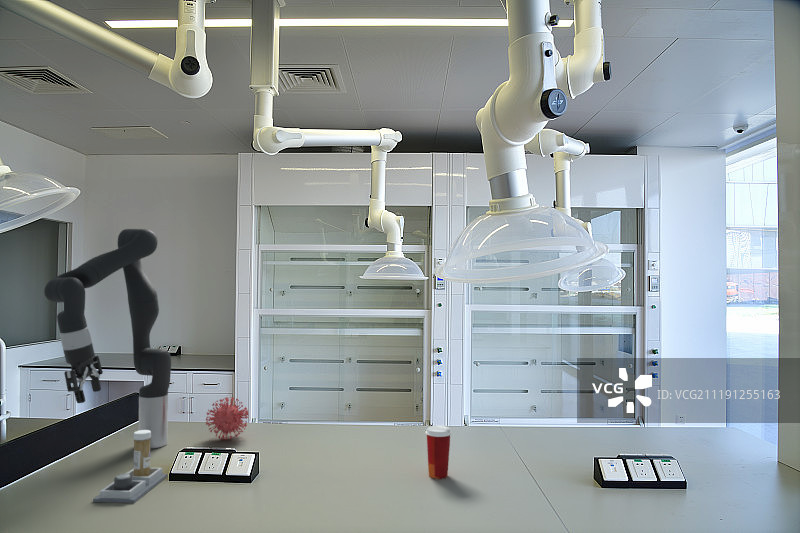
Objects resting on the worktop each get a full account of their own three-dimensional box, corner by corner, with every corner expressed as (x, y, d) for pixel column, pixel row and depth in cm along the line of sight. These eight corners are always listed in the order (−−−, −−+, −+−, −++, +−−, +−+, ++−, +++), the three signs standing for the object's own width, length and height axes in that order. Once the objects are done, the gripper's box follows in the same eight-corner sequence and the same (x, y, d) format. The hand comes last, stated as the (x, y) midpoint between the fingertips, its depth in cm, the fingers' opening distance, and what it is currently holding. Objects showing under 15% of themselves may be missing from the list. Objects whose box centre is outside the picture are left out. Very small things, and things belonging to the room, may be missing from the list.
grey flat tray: (130, 475, 168) (130, 457, 168) (167, 476, 168) (167, 458, 168) (92, 501, 149) (93, 481, 149) (134, 502, 149) (134, 482, 149)
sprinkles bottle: (151, 479, 163) (152, 432, 163) (134, 482, 161) (135, 434, 161) (148, 474, 167) (149, 428, 167) (131, 477, 165) (132, 430, 165)
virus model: (207, 434, 212) (207, 394, 212) (248, 432, 215) (249, 392, 216) (203, 446, 198) (204, 403, 198) (247, 443, 201) (248, 401, 201)
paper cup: (454, 473, 173) (454, 427, 173) (445, 481, 166) (446, 433, 166) (430, 469, 176) (430, 424, 176) (420, 477, 169) (421, 430, 169)
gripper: (75, 350, 160) (88, 405, 163) (102, 335, 174) (114, 386, 177) (49, 354, 160) (63, 408, 163) (78, 338, 174) (90, 388, 177)
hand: (89, 396), depth 170 cm, fingers open, 8 cm apart
